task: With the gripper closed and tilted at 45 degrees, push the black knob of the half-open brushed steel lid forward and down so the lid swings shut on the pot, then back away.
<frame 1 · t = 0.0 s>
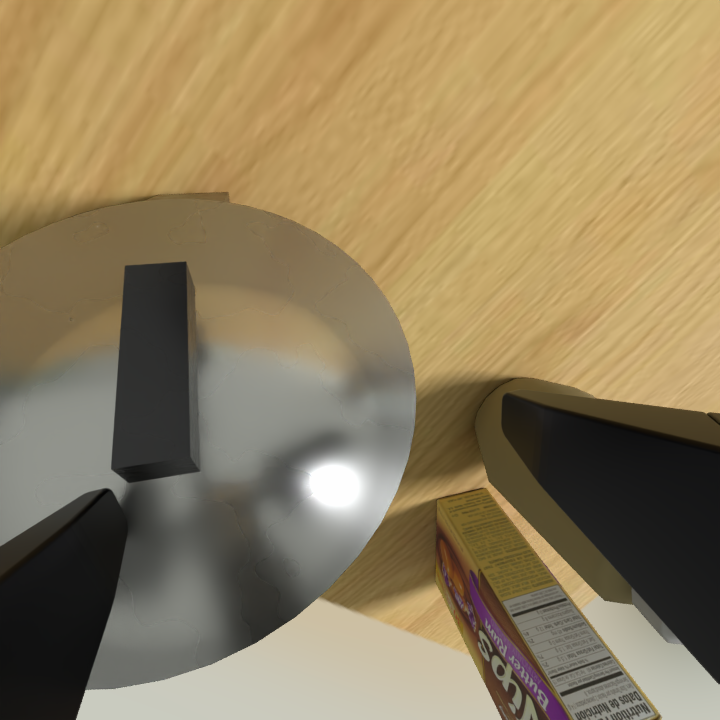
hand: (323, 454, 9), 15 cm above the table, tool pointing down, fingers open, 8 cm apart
pot: (217, 330, 22), on the table
candy box: (459, 532, 34), on the table
squeeze bottle: (511, 413, 30), on the table
lid: (166, 372, 10), point 12 cm above the table, hinge at 54.6°, touching gripper
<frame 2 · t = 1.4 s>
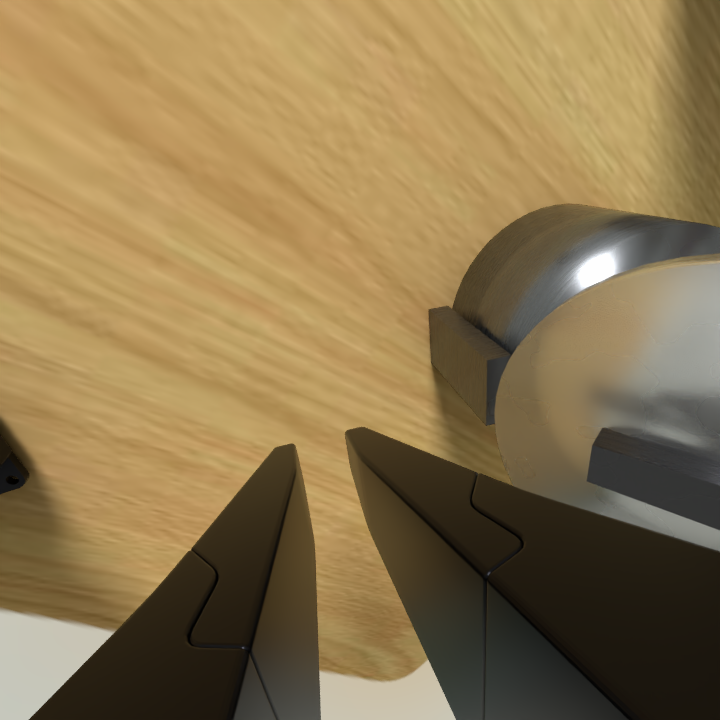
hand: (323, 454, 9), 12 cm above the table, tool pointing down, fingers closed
pot: (546, 312, 23), on the table
lid: (697, 476, 12), point 12 cm above the table, hinge at 54.2°
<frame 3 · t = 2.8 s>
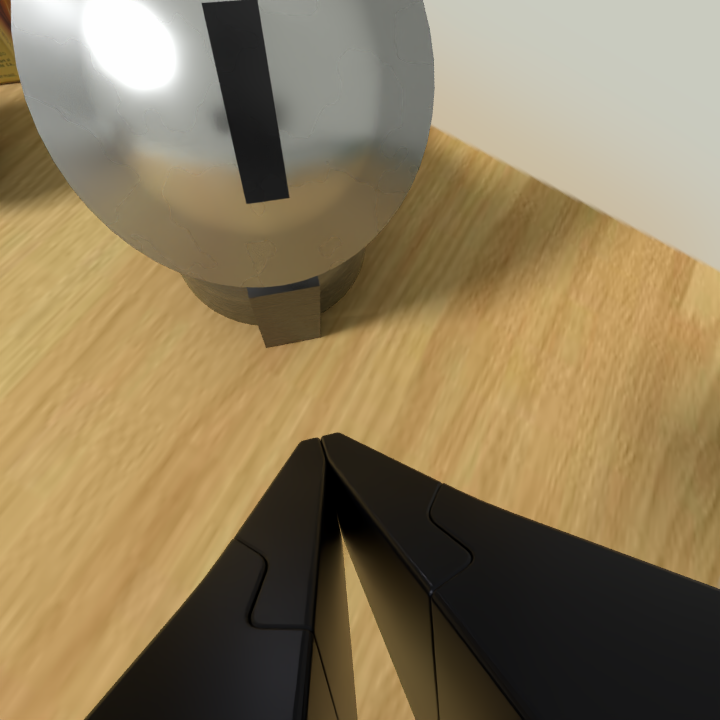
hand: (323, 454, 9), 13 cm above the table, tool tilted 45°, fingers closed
pot: (272, 240, 26), on the table
lid: (249, 108, 13), point 12 cm above the table, hinge at 54.2°
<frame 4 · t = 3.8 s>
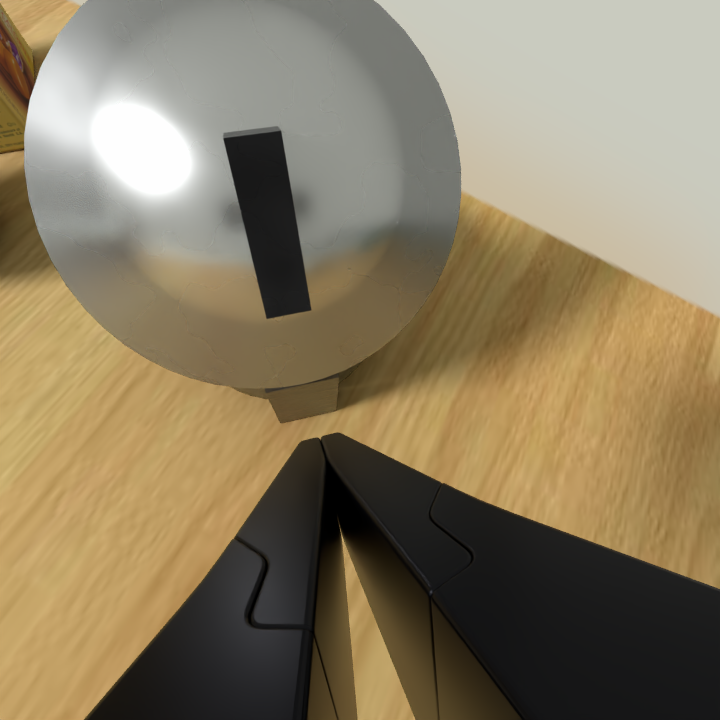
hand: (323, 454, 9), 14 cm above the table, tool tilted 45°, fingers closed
pot: (284, 307, 25), on the table
candy box: (5, 106, 29), on the table
lid: (270, 224, 13), point 12 cm above the table, hinge at 54.2°
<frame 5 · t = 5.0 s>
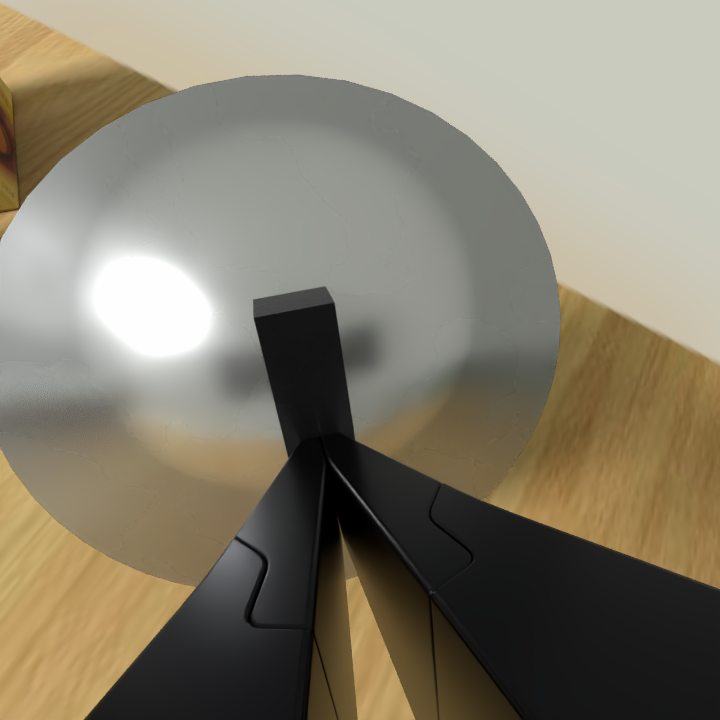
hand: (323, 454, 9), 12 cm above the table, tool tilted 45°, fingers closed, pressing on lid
lid: (311, 401, 9), point 12 cm above the table, hinge at 45.9°, touching gripper
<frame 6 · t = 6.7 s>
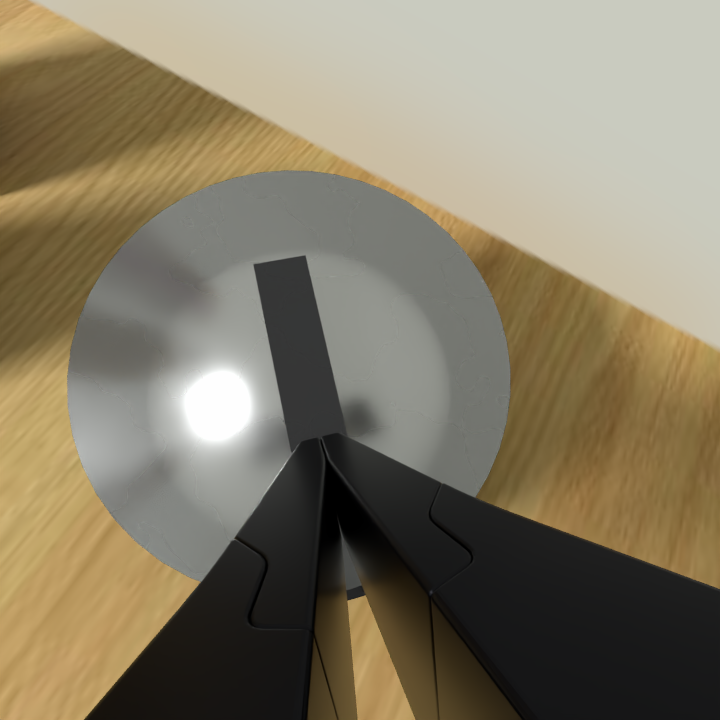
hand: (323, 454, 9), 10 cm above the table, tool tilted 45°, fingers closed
lid: (300, 357, 12), point 8 cm above the table, hinge at 4.2°
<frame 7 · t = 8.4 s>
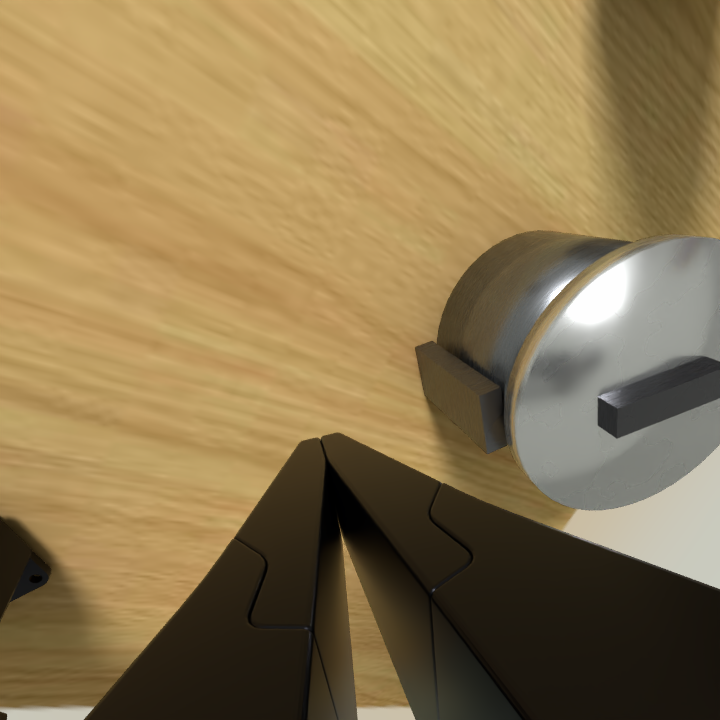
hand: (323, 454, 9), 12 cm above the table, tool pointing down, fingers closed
pot: (523, 331, 25), on the table
lid: (651, 390, 18), point 8 cm above the table, hinge at 4.2°
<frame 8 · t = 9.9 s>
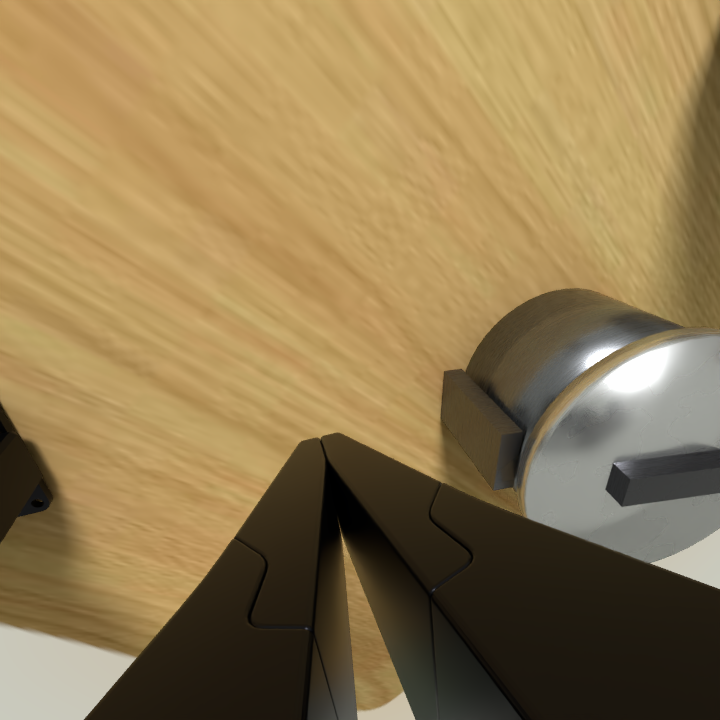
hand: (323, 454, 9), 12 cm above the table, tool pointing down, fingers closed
pot: (548, 380, 25), on the table
lid: (663, 469, 18), point 8 cm above the table, hinge at 4.2°
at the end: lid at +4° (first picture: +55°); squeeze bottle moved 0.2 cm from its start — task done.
